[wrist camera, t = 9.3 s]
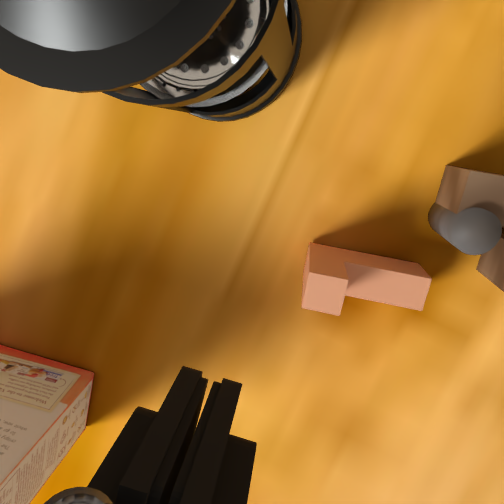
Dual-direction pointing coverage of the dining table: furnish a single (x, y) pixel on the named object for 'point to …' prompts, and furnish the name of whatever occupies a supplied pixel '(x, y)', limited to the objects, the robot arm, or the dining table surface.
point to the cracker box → (37, 419)
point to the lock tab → (360, 279)
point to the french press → (156, 50)
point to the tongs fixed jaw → (469, 209)
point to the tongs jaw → (493, 264)
